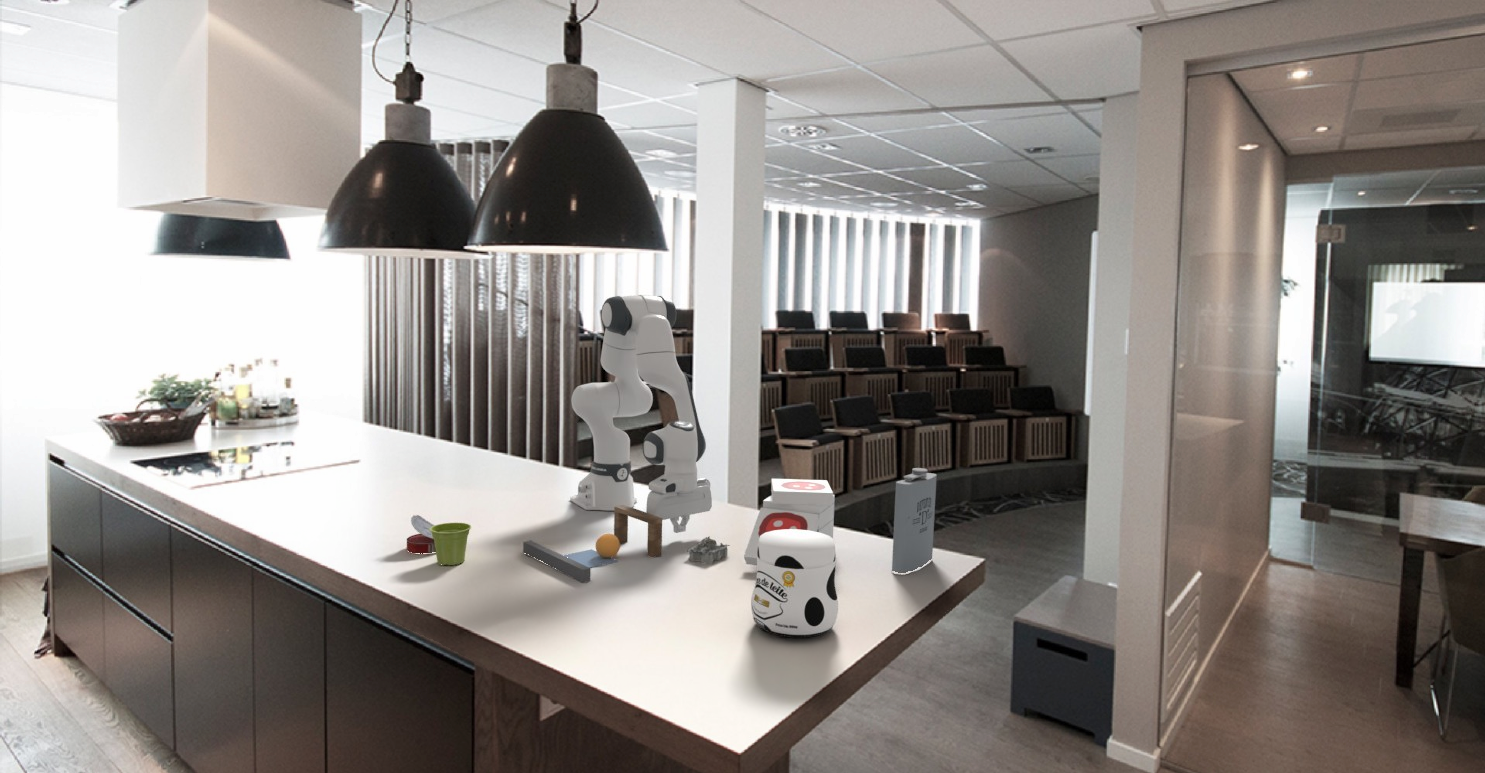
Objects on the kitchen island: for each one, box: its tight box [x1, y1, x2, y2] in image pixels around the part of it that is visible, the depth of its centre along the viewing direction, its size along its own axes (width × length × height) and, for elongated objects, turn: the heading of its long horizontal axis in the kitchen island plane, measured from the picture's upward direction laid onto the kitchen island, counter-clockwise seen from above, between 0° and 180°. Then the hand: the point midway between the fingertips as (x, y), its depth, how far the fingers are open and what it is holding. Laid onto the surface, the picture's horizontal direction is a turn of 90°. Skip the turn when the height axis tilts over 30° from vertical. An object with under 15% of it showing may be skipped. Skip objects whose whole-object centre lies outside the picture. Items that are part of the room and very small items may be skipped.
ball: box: [595, 533, 621, 558], centre depth 204 cm, size 6×6×6 cm
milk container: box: [750, 529, 839, 638], centre depth 162 cm, size 17×17×18 cm
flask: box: [891, 467, 938, 573], centre depth 203 cm, size 17×5×25 cm, turn 143°
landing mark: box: [563, 548, 619, 569], centre depth 201 cm, size 12×12×1 cm
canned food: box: [406, 514, 436, 554], centre depth 207 cm, size 11×10×10 cm
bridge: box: [613, 505, 663, 558], centre depth 212 cm, size 3×17×10 cm, turn 43°
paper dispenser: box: [743, 478, 836, 566], centre depth 206 cm, size 19×30×18 cm, turn 159°
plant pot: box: [430, 522, 472, 566], centre depth 196 cm, size 9×9×9 cm
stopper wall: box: [522, 539, 592, 584], centre depth 196 cm, size 28×2×3 cm, turn 43°
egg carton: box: [686, 535, 730, 564], centre depth 207 cm, size 11×8×4 cm
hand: (679, 531), depth 222 cm, fingers closed
